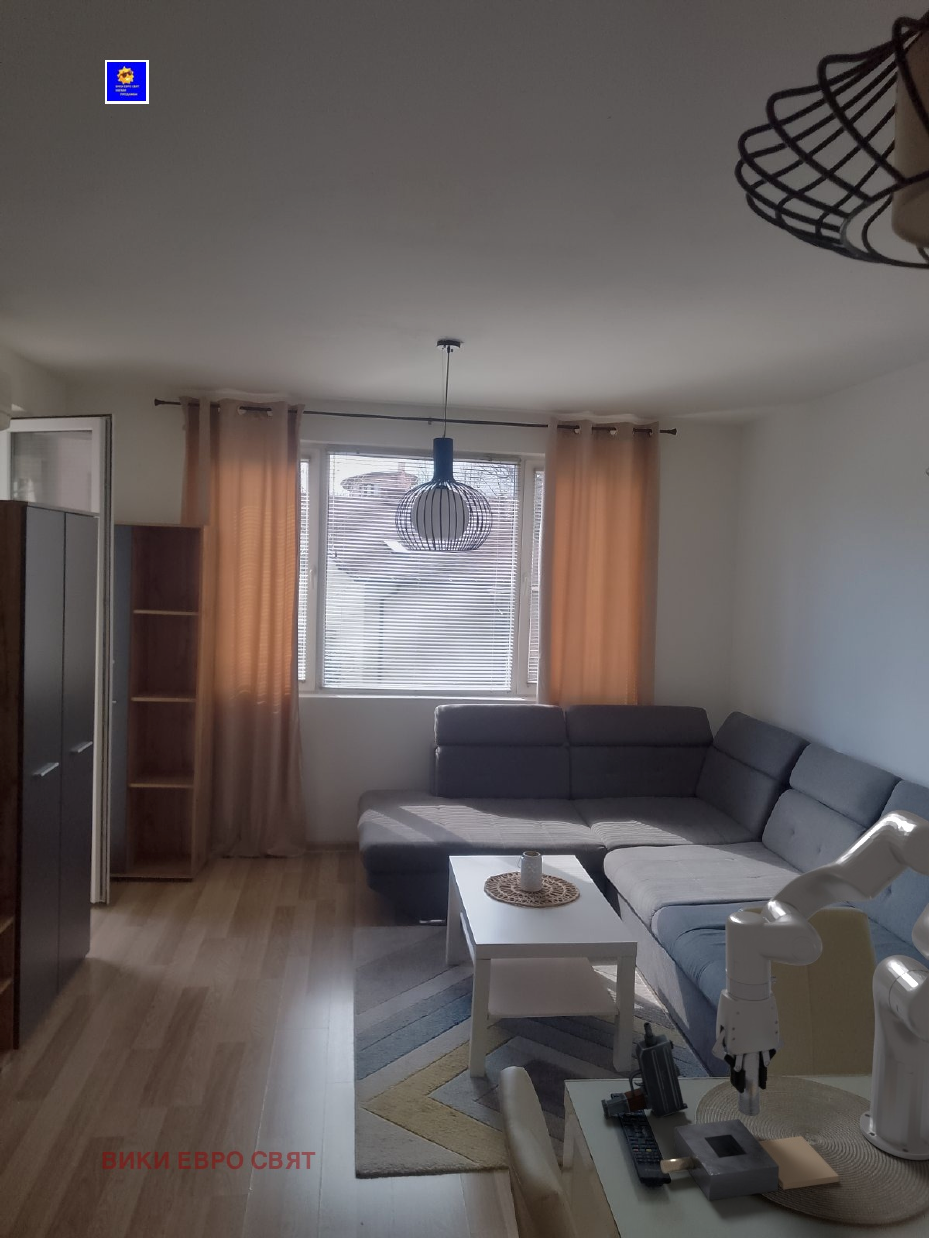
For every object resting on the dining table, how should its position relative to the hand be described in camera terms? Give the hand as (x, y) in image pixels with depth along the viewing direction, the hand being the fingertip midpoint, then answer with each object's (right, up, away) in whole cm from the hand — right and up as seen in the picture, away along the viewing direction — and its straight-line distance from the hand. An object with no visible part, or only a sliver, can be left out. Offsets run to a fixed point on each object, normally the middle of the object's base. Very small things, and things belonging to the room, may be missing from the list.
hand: (748, 1085), depth 151 cm
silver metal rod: (0, -4, 0) cm, 4 cm away
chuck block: (-10, -8, -11) cm, 17 cm away
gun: (-18, -7, +4) cm, 20 cm away
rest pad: (+5, -9, -8) cm, 13 cm away
